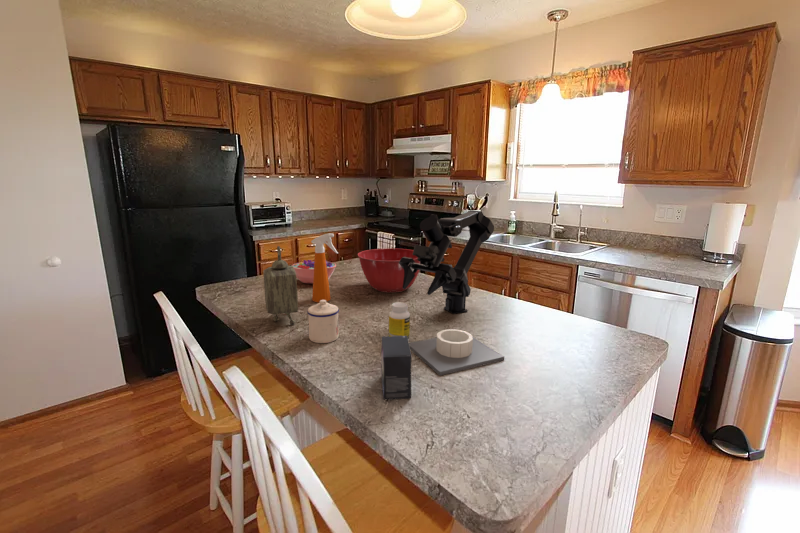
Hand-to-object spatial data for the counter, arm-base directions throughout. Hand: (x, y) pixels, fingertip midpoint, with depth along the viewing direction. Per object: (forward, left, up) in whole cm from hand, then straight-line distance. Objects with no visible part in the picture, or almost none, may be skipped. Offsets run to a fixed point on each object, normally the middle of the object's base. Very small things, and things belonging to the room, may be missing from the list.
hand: (415, 291), depth 116 cm
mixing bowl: (-13, -46, -13) cm, 50 cm away
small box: (+19, +27, -13) cm, 35 cm away
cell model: (+15, -68, -13) cm, 71 cm away
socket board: (-3, +18, -13) cm, 22 cm away
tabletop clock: (+36, -26, -13) cm, 47 cm away
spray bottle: (+17, -41, -13) cm, 47 cm away
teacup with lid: (+27, -8, -13) cm, 31 cm away
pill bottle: (+7, +4, -13) cm, 16 cm away
